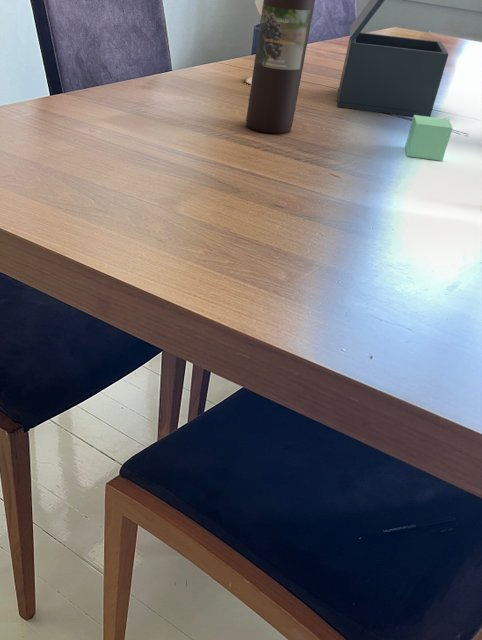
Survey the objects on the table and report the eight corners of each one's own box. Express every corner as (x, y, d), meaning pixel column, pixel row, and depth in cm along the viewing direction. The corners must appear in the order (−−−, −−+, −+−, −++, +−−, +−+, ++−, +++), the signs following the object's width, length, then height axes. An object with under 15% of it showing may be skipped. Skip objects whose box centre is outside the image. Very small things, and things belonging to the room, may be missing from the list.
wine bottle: (236, 126, 111) (271, -124, 93) (261, 119, 116) (299, -121, 97) (275, 137, 108) (319, -120, 89) (299, 129, 112) (346, -117, 94)
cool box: (424, 102, 133) (441, 41, 127) (429, 118, 124) (448, 54, 118) (338, 91, 135) (351, 31, 129) (337, 106, 126) (351, 42, 120)
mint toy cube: (439, 151, 108) (449, 119, 105) (442, 161, 104) (452, 127, 101) (404, 146, 109) (413, 114, 106) (406, 156, 105) (416, 123, 102)
